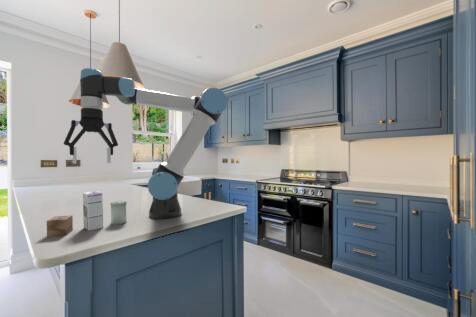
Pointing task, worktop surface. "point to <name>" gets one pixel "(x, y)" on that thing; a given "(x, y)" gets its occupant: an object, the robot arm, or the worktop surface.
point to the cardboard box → (59, 226)
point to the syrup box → (93, 210)
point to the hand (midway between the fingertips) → (92, 163)
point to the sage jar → (118, 212)
